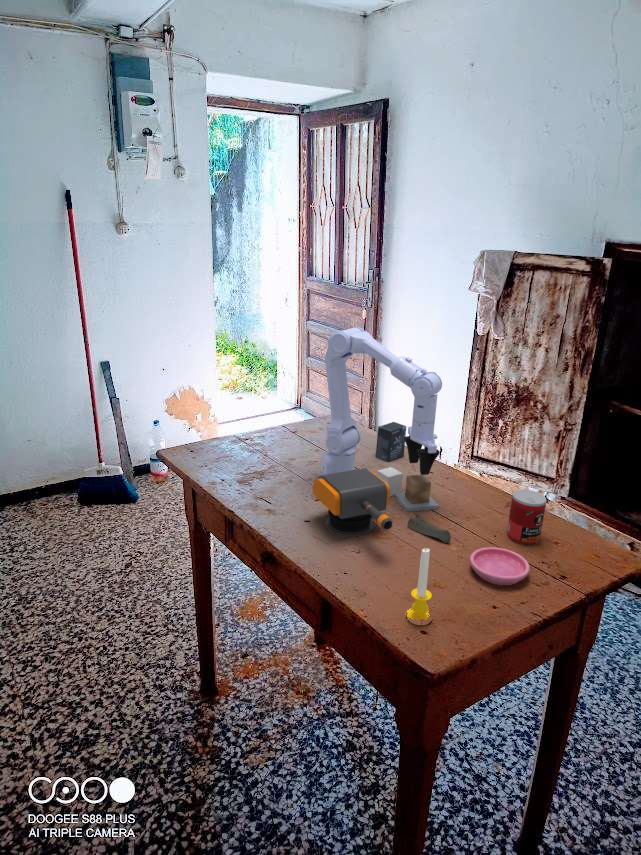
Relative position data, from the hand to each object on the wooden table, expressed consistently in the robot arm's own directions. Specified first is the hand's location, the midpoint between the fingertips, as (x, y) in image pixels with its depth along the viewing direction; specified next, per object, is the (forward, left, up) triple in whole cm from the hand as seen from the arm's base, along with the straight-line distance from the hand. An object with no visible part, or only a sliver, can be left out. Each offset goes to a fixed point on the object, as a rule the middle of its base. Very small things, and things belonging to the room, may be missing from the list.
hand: (419, 468), depth 157 cm
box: (+4, +32, -10) cm, 34 cm away
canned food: (+19, -22, -10) cm, 31 cm away
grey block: (-5, +8, -10) cm, 14 cm away
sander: (-20, -13, -10) cm, 26 cm away
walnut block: (0, 0, -9) cm, 9 cm away
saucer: (+5, -35, -11) cm, 37 cm away
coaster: (0, 0, -10) cm, 10 cm away
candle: (-18, -46, -10) cm, 50 cm away
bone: (-2, -16, -11) cm, 19 cm away
